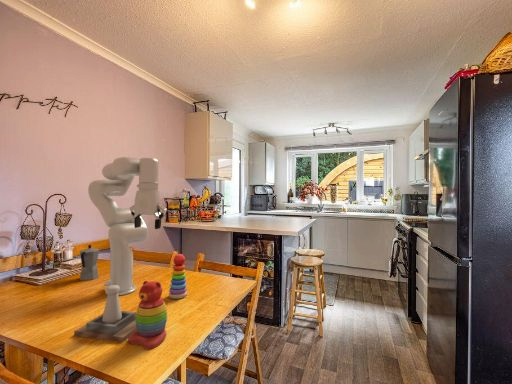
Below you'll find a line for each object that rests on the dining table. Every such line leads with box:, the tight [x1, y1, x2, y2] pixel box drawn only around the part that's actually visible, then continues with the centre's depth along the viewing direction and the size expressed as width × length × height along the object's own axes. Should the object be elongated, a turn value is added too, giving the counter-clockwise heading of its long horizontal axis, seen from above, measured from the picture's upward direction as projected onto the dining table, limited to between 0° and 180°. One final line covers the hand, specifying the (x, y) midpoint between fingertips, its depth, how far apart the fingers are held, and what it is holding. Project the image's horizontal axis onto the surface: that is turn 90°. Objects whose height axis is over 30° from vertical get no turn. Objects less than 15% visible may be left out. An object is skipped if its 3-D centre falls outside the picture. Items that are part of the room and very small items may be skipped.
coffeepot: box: [79, 244, 100, 282], centre depth 144 cm, size 15×9×18 cm, turn 9°
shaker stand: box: [73, 310, 137, 343], centre depth 90 cm, size 18×12×4 cm, turn 78°
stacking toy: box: [168, 253, 188, 300], centre depth 120 cm, size 8×8×19 cm
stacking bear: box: [127, 280, 168, 350], centre depth 85 cm, size 11×10×18 cm
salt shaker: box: [102, 285, 122, 324], centre depth 90 cm, size 6×6×13 cm
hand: (147, 228), depth 112 cm, fingers open, 9 cm apart
